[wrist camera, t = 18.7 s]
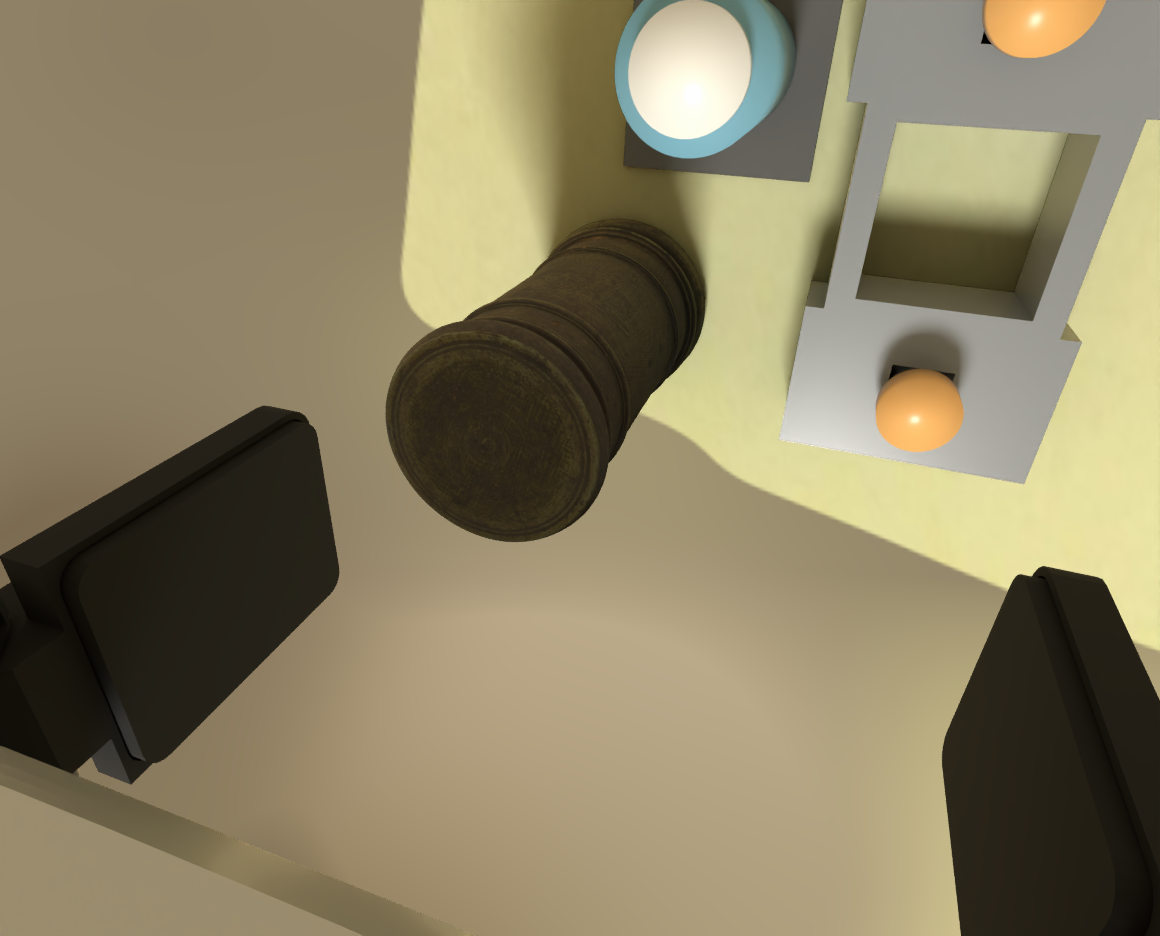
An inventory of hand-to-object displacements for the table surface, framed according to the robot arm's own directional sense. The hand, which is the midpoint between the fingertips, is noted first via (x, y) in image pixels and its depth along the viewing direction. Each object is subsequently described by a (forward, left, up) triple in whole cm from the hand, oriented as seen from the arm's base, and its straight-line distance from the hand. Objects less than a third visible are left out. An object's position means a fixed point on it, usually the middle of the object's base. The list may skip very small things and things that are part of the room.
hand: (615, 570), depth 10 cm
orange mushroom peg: (-7, +7, -30) cm, 31 cm away
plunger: (-7, -8, -30) cm, 32 cm away
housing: (-7, 0, -30) cm, 31 cm away
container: (+8, +6, -31) cm, 32 cm away
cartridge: (+4, -6, -30) cm, 31 cm away
